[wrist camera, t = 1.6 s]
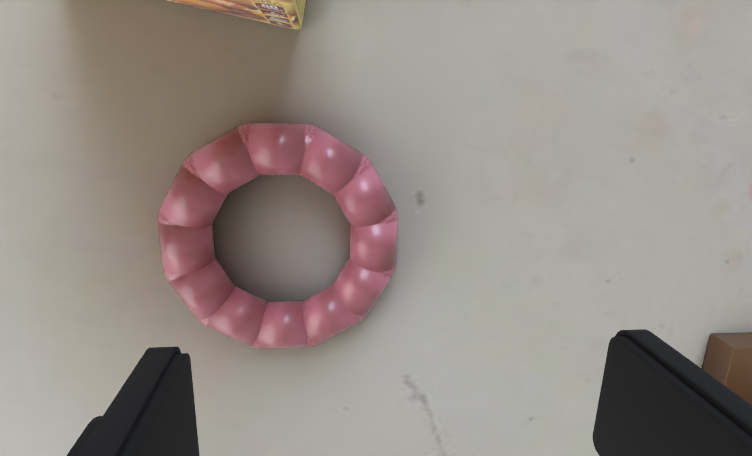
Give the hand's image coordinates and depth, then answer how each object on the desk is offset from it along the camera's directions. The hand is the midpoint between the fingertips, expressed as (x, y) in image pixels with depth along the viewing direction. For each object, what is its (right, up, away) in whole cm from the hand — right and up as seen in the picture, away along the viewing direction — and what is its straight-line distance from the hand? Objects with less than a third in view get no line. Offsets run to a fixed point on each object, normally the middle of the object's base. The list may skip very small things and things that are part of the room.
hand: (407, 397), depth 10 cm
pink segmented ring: (-5, +3, +9) cm, 11 cm away
